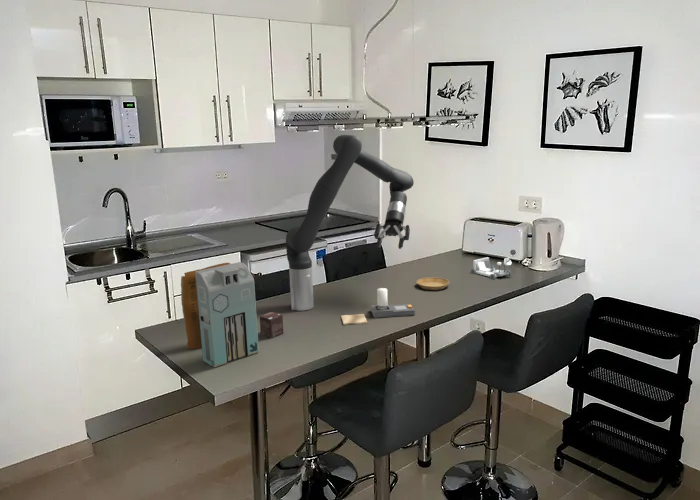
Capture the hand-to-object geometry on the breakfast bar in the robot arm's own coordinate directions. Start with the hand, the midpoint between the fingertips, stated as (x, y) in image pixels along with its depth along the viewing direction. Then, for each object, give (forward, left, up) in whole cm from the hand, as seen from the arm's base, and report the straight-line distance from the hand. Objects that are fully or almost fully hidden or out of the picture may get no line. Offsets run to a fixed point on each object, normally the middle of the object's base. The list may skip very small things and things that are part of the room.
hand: (389, 247), depth 226 cm
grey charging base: (-1, -10, -24) cm, 26 cm away
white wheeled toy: (+57, +35, -25) cm, 71 cm away
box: (-48, -24, -25) cm, 59 cm away
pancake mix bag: (-69, -29, -24) cm, 79 cm away
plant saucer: (+24, +22, -25) cm, 41 cm away
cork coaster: (-17, -15, -24) cm, 33 cm away
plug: (-5, -10, -24) cm, 27 cm away
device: (-61, -42, -25) cm, 78 cm away
